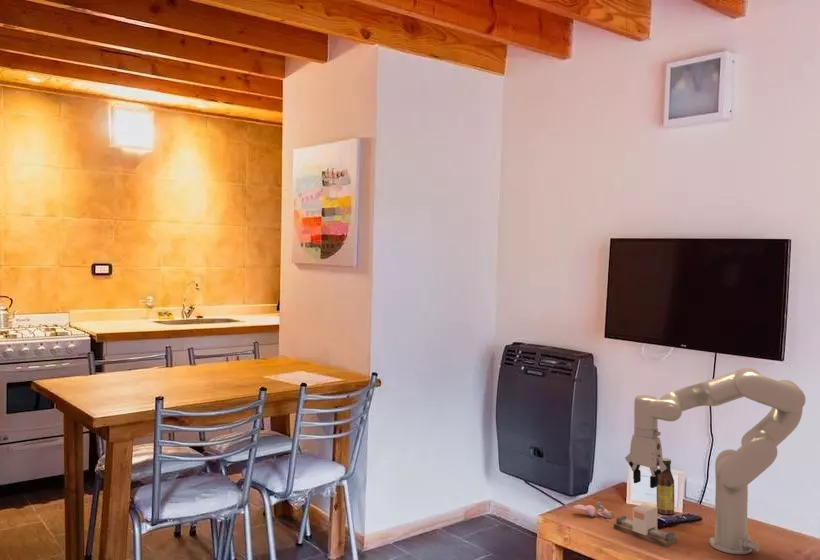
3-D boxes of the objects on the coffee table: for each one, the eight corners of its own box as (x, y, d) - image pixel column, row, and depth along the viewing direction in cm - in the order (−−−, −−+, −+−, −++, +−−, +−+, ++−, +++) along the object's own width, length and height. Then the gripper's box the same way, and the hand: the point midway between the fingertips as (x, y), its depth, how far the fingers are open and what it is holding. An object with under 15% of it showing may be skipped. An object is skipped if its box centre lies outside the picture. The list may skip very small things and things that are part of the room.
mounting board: (677, 541, 226) (677, 537, 226) (665, 547, 222) (666, 542, 222) (625, 523, 242) (625, 519, 242) (613, 528, 237) (613, 524, 237)
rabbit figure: (612, 518, 251) (571, 509, 253) (615, 502, 250) (574, 493, 253) (614, 524, 244) (572, 515, 247) (617, 508, 244) (575, 499, 246)
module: (657, 530, 232) (657, 507, 232) (645, 535, 227) (645, 512, 227) (644, 525, 236) (644, 503, 236) (632, 530, 231) (632, 507, 231)
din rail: (674, 538, 225) (674, 532, 225) (668, 541, 223) (668, 536, 223) (623, 520, 241) (623, 515, 241) (616, 523, 238) (616, 518, 238)
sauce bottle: (677, 515, 249) (677, 462, 249) (659, 515, 249) (660, 462, 249) (670, 509, 256) (670, 456, 255) (653, 508, 256) (654, 456, 255)
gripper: (675, 435, 226) (674, 489, 227) (630, 425, 240) (629, 476, 240) (662, 439, 222) (662, 494, 222) (617, 429, 235) (617, 480, 236)
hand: (645, 484), depth 231 cm, fingers open, 5 cm apart
